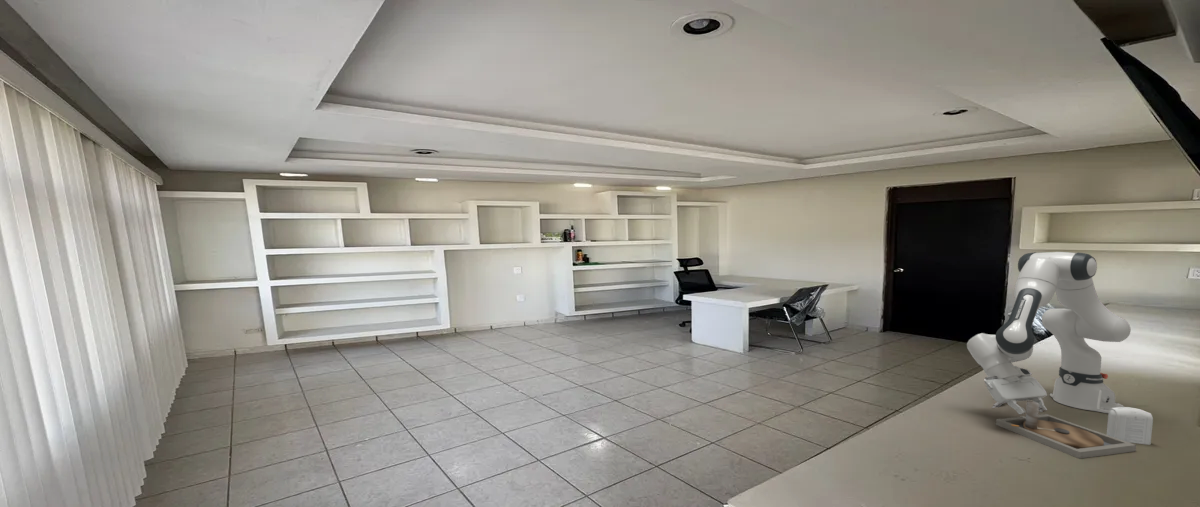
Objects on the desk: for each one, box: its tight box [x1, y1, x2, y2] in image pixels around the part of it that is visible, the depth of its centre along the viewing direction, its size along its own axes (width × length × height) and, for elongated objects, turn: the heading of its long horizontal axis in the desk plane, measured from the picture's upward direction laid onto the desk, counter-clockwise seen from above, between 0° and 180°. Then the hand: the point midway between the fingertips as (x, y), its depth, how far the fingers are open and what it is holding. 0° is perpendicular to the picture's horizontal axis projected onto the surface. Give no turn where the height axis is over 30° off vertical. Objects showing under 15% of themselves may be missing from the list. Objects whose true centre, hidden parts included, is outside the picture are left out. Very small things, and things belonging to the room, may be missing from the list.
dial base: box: [995, 413, 1137, 459], centre depth 151 cm, size 24×24×3 cm
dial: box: [1023, 400, 1104, 449], centre depth 151 cm, size 19×19×11 cm
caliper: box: [991, 401, 1004, 409], centre depth 182 cm, size 20×1×6 cm, turn 118°
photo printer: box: [1106, 406, 1154, 446], centre depth 149 cm, size 10×4×12 cm, turn 72°
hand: (1033, 412), depth 153 cm, fingers open, 8 cm apart
